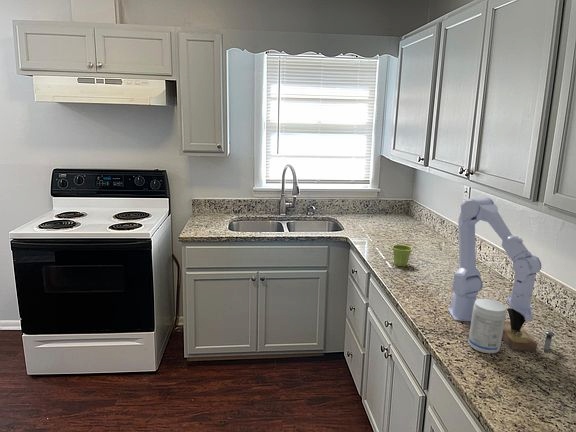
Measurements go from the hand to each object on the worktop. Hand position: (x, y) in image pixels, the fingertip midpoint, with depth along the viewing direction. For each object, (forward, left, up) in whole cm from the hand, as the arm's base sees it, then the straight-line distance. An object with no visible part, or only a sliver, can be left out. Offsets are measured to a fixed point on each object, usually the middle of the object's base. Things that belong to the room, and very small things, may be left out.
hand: (514, 331), depth 148 cm
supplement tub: (+5, -11, -4) cm, 13 cm away
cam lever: (+7, +7, -4) cm, 11 cm away
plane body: (-2, +1, -4) cm, 4 cm away
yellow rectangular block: (+3, 0, -1) cm, 3 cm away
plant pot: (-72, -24, -4) cm, 76 cm away
